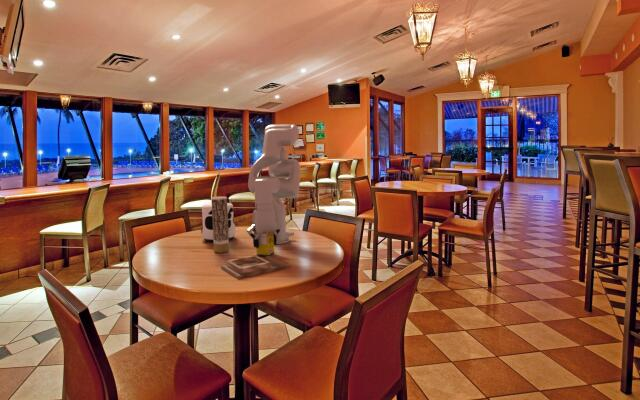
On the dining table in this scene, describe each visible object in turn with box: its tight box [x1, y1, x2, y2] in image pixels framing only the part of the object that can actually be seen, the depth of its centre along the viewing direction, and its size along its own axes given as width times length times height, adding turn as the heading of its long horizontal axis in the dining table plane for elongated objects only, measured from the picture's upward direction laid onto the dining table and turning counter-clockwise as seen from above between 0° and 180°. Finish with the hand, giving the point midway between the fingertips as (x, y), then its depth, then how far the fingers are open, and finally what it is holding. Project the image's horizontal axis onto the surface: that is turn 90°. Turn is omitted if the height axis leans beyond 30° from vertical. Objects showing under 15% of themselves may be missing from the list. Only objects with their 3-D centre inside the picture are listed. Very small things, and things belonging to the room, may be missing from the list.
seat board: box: [220, 254, 290, 280], centre depth 157 cm, size 22×16×3 cm
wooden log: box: [211, 196, 230, 254], centre depth 181 cm, size 7×7×25 cm
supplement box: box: [255, 231, 275, 257], centre depth 175 cm, size 6×6×11 cm
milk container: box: [200, 202, 237, 242], centre depth 204 cm, size 17×17×18 cm
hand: (265, 245), depth 175 cm, fingers closed on supplement box, 8 cm apart
